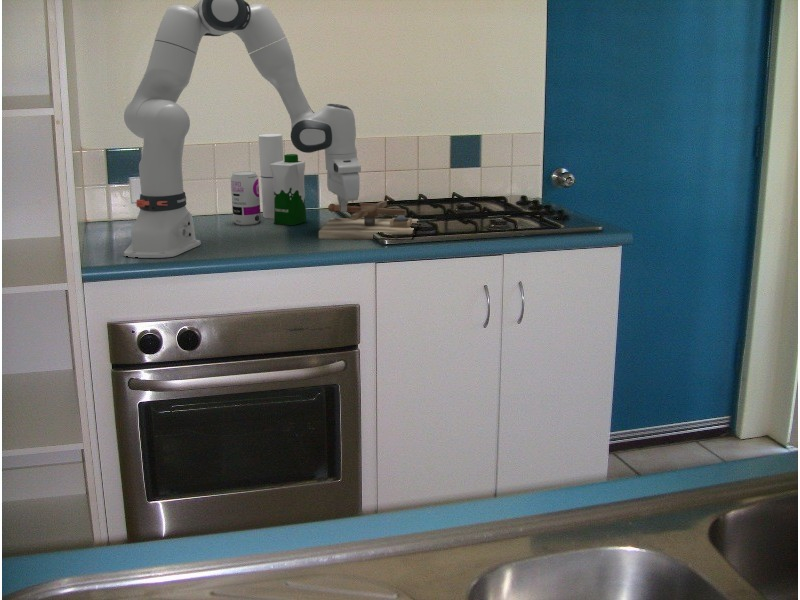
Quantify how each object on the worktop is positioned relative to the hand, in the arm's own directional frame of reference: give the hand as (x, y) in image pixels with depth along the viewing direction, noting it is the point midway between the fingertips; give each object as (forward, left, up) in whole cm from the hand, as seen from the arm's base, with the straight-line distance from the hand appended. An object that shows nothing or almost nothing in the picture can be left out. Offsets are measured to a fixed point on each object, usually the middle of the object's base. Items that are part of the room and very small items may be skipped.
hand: (343, 211), depth 261 cm
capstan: (0, -7, -1) cm, 7 cm away
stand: (0, -7, -6) cm, 9 cm away
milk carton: (+12, +19, -6) cm, 23 cm away
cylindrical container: (+21, +26, -6) cm, 33 cm away
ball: (0, -16, -2) cm, 17 cm away
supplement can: (+11, +32, -6) cm, 34 cm away
